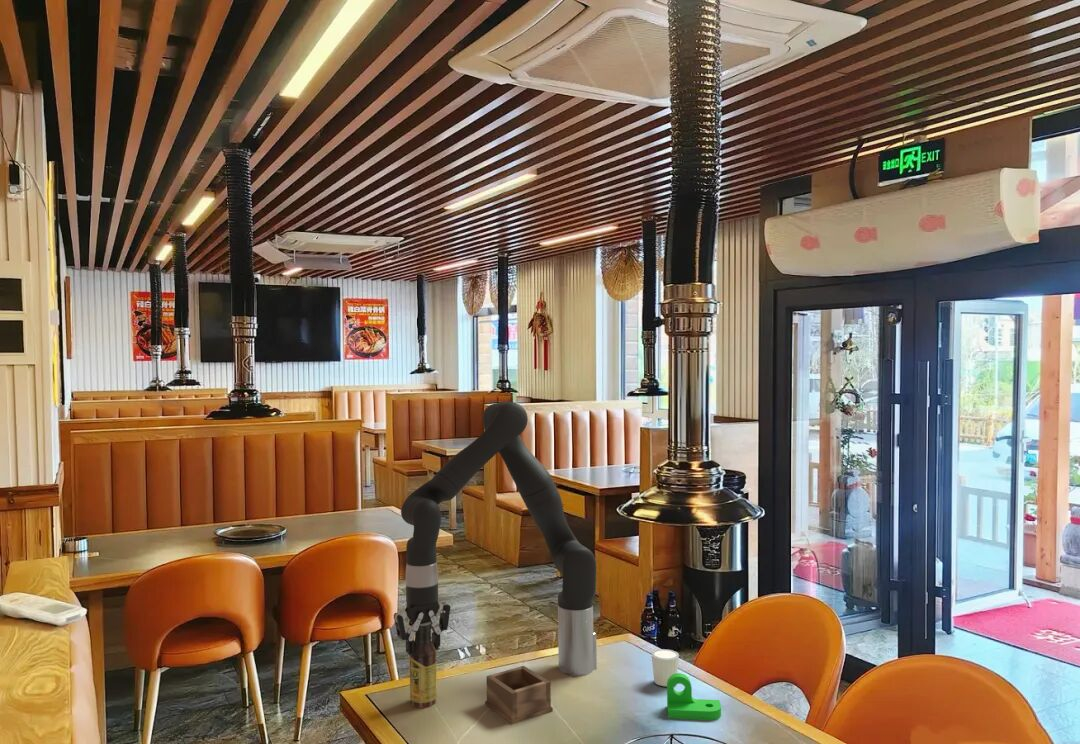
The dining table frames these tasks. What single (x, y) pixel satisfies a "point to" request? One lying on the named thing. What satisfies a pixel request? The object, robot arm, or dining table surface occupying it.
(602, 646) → the dining table surface
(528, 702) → the bottle caddy
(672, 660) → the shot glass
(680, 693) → the mechanical part
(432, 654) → the sauce bottle
